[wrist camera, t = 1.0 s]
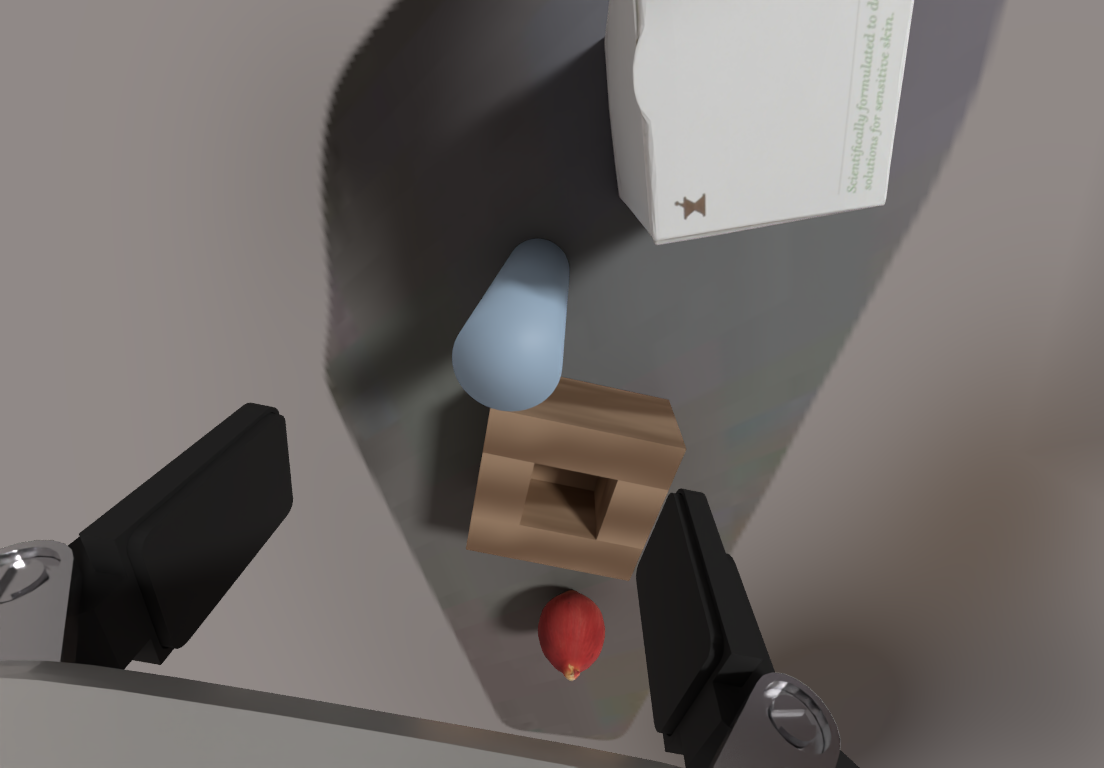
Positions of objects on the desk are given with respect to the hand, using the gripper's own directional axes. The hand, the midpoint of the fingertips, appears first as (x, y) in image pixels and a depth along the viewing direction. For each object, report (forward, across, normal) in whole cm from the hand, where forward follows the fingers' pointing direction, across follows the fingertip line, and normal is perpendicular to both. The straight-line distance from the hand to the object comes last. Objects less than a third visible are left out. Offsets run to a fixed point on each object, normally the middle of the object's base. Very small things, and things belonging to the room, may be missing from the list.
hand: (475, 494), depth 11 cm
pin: (+20, 0, 0) cm, 20 cm away
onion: (+20, -8, +29) cm, 36 cm away
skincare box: (+21, -5, -10) cm, 24 cm away
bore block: (+20, -5, +13) cm, 24 cm away
